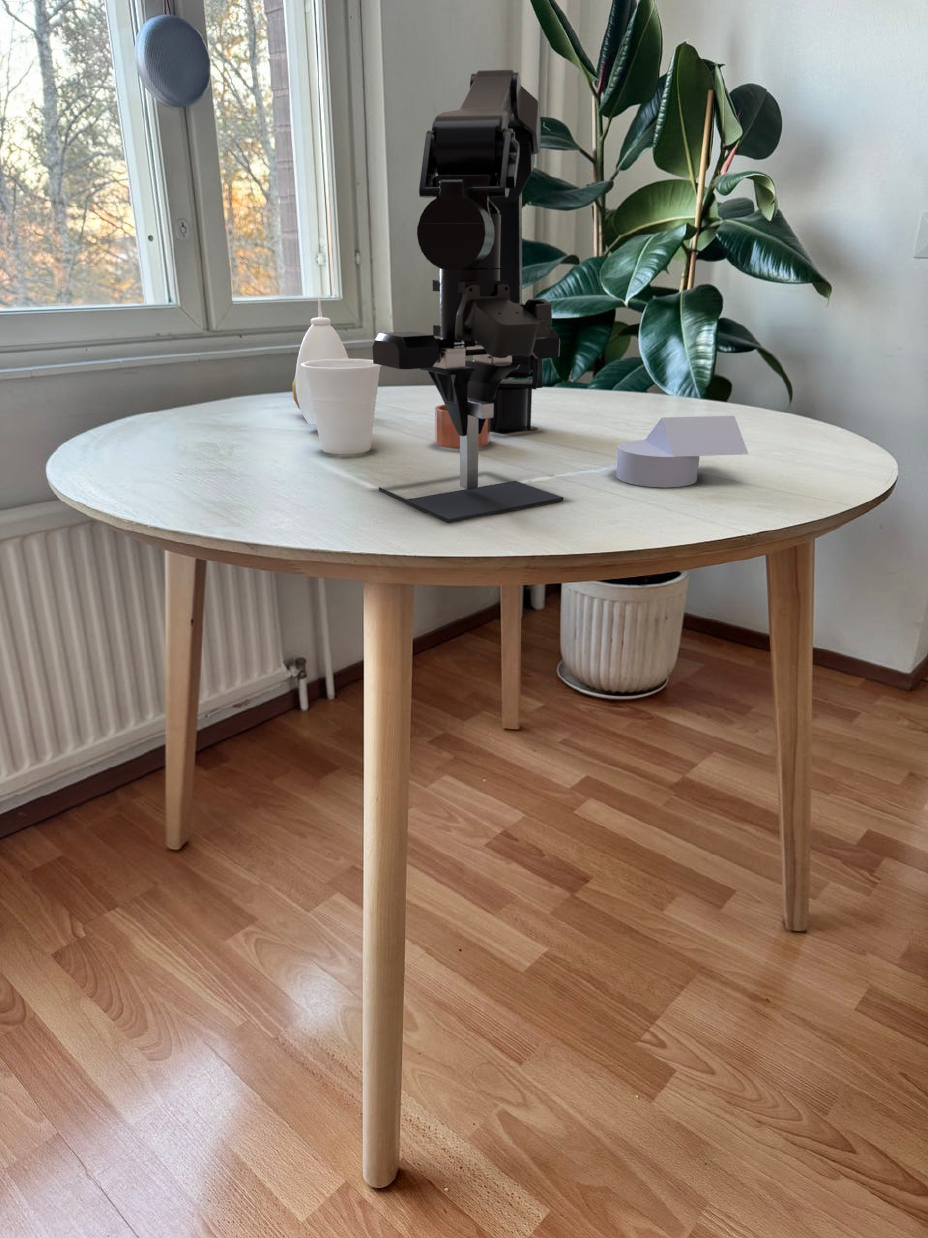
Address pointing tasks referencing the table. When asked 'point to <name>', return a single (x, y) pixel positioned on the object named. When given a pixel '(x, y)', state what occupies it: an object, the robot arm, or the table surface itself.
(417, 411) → the table surface
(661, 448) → the wedge on round base
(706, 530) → the table surface
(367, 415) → the cup
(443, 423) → the pencil pot
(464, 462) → the hex key
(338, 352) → the sauce bottle
